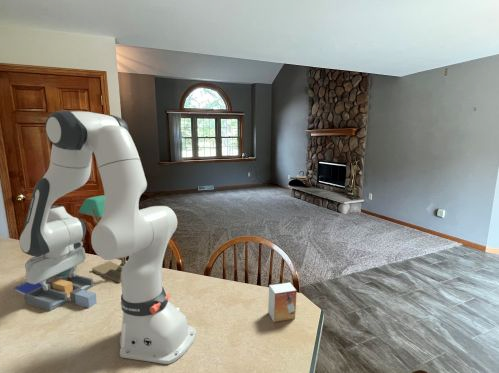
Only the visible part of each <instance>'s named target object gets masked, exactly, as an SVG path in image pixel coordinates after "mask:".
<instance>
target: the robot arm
mask: <svg viewBox="0 0 499 373" xmlns="http://www.w3.org/2000/svg"><path fill="white" fill-rule="evenodd" d="M45 120H46V121H45V127H44V128H45V135H46V137H47V138H48V139H47V140H49V142H50V143H51V144H52V145H51V151H50V160H49V161H50V162H49V166H48V169H47V171H46V172H45V174H44V175H43V177H42V178H40V179H39V180H37V181H36V183H35V186H34V189H33V191H32V196H31V200H30V203H29V207H28V211H27V215H26V220H25V224H24V226H23V228H22V231H21V232H20V236H19V241H18V242H19V246H20V250H21V251H22V252H23V253H25V254H26V255H28V256H31V257H30V258H29V259H28V260H27V261H26V262H25V263H24V266H25V281H26V282H28V283H30V284H37V283H40V284H41V285H42V286H43V289H44V290H45V291H47V290H49V289H50V288H51V287H50V284H46V283H45V282H47V283H48V281H47V280H48V279H50V278H53V277H55V276H58V275H57V274H59V273H61V272H63V271H65V270H67V269H70V268H71V271H70V273H68V275H69V276H68V277H69V278H73V277H75V275H76V271H77V269H78V265H80V264H82V263H83V264H84V262H86V259H87V258H86V256H87V255H86V251H85V247H83V246H84V241H83V240H84V238H85V235H86V233H87V228H86V224H85V222H84V221H83V220H82V219H81V218H78V217H76V216H72V215H71V214H70V213H68V212H67V210H66V208H65V206H63V205H54V206H52V205H53V204H54V203H55V202H56V201H57V200H59V199H60V198H62V197H63V196H65V195H67V194H70V193H71V192H74V191H77V189H80V188H81V187H83V186H84V185H85V184H86V183H87V182H88V181H89V179H90V177H91V173H92V172H91V171H92V162H93V161H92V160H93V154H94V157H95V160H96V166H97V169H98V172H99V175H100V179H101V183H102V188H103V192H104V193H103V194H104V195H105V207H104V212H103V215H102V217H100V219H99V221H98V222H99V223H98V224H96V225H95V227H94V228H93V230H92V232H91V235H90V236H91V238H90V242H91V247H92V250H94V253H95V254H96V255H97V256H98V257H100V258H101V259H103V260H105V261H113V260H119V259H121V258H123V257H126V258H127V257H129V258H128V260H126V263H125V265H124V266H123V268H122V271H121V283H120V284H121V295H120V305H121V310H122V322H121V331H120V332H121V333H120V337H119V346H120V350H119V357H120V358H123V359H130V360H137V361H145V362H149V363H150V362H152V363H156V364H157V363H158V364H164V365H170V364H172V363H174V362H176V361H177V360H178V359H180V358H181V357H182V356H183V355H185V353H186V352H187V351H188V350H189V349H190V347H191V345H193V342H194V341H195V338H196V335H197V331H196V328H195V327H193V326H191V325H189V324H188V320H187V317H186V315H185V314H184V313H183V312H182V311H181V309H180V308H179V307H177V306H175V305H174V304H173V303H171V301H169V299H170V298H171V293H168V294H167V293H166V291H165V289H164V286H163V263H164V262H163V261H164V258H165V253H166V250H167V247H168V244H169V242H170V239H171V238H172V237H173V234H174V233H175V232H176V230H177V228H178V218H177V215H176V213H175V211H174V210H173V209H172V208H170V207H169V206H167V205H153V206H149V207H146V208H145V207H144V208H142V209H140V208H139V206H140V205H139V202H140V198H141V196H142V194H144V193H145V191H146V190H147V187H148V182H147V179H146V176H145V172H144V168H143V165H142V161H141V157H140V156H139V152H138V150H137V147H136V145H135V143H134V140H133V138H132V135H131V134H130V131H129V126H128V124H127V122H126V121H125V120H124V119H123V118H121V117H119V116H116V115H113V114H102V113H97V112H92V111H85V110H84V111H81V110H80V111H79V110H77V111H75V110H74V111H70V110H57V111H54V112H51V113H50V114H49V115H48V117H47V118H46V119H45ZM26 282H25V283H26Z"/></svg>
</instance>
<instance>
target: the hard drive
mask: <svg viewBox="0 0 499 373" xmlns="http://www.w3.org/2000/svg"><path fill="white" fill-rule="evenodd" d="M45 283H46V284H48V281H47V282H45ZM39 287H42V285H41V284H40V283H37V284H30V283H28V282H24V283H22V284H19V285H17V286H15V287H13V290H14V291H15V292H18V293H20V294H22V295H25V294H27V293H29V292H31V291H33V290H35V289H37V288H39Z"/></svg>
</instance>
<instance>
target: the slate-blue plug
mask: <svg viewBox="0 0 499 373" xmlns="http://www.w3.org/2000/svg"><path fill="white" fill-rule="evenodd" d="M70 303H71V304H73V305H77V306H81V307H84V308H87V309H90V308H92V307H94V306H95V305H97V303H98V302H97V293H96V292H92V291H89V290H86V291H85V290H82V289H79V288H77V289H75V290H73V291H71V292H70Z"/></svg>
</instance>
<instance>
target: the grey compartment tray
mask: <svg viewBox="0 0 499 373" xmlns="http://www.w3.org/2000/svg"><path fill="white" fill-rule="evenodd" d="M68 276H69V275H68V274H65V275H62V276H59V277H58V278H59V279H62V280H65V281H69V282H72V285H73V290H75V289H77V288H79V289H82V290H85V291H89V289H91V288H93V287H94V279H93V278H92V277H91V278H90V277H87V276H82V275H79V274H75V277H73V278H69V277H68ZM23 295H24V294H23ZM69 301H71V299H70V294H69V295H67V293H65V292H61V291H58V290H54V289H51V288H50V289H49V290H47V291H45V290H44V289H43V286H42V287H39V288H37V289H35V290H33V291H31V292H29V293H27V294H25V295H24V303H25V304H27V305H30V306H34V307H36V308H40V309H43V310H46V311H49V312H52V310H55V309H56V308H58V307H60V306H61V305H63V304H64V303H65V304H66V303H67V302H69Z"/></svg>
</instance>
